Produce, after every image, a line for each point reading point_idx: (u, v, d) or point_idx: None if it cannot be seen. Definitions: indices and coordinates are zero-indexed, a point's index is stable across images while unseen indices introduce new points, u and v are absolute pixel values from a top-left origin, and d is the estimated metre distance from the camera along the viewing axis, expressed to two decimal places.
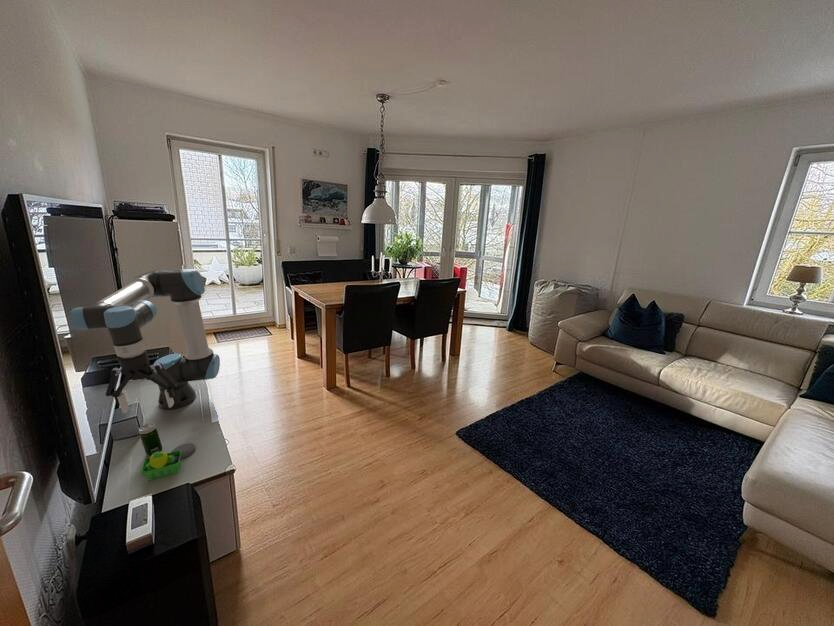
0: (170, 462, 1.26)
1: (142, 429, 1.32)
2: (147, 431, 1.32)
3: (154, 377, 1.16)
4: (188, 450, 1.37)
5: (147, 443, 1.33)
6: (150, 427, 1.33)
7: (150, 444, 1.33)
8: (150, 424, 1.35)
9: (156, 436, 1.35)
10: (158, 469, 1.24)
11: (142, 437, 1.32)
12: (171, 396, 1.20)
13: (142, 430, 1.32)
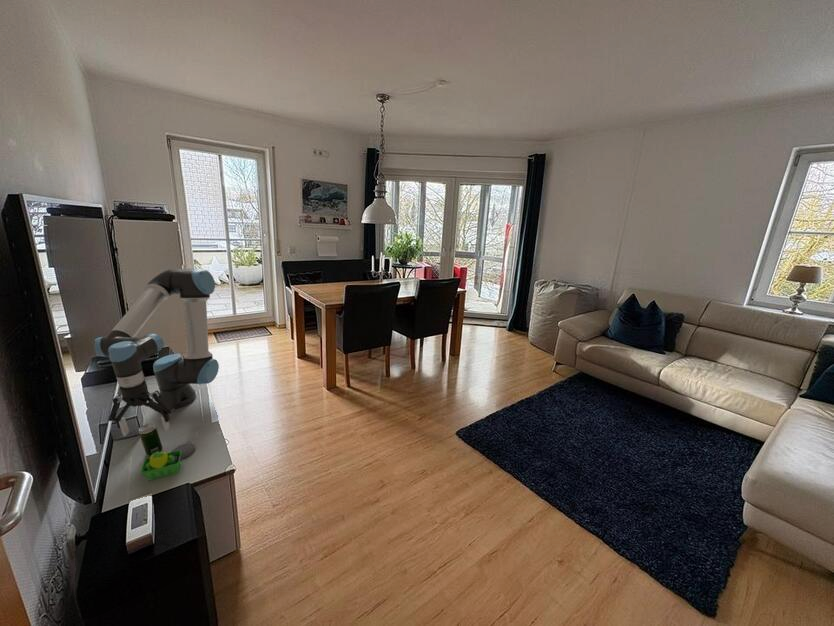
0: (170, 462, 1.26)
1: (142, 429, 1.32)
2: (147, 431, 1.32)
3: (152, 404, 1.30)
4: (188, 450, 1.37)
5: (147, 443, 1.33)
6: (150, 427, 1.33)
7: (150, 444, 1.33)
8: (150, 424, 1.35)
9: (156, 436, 1.35)
10: (158, 469, 1.24)
11: (142, 437, 1.32)
12: (167, 420, 1.33)
13: (142, 430, 1.32)
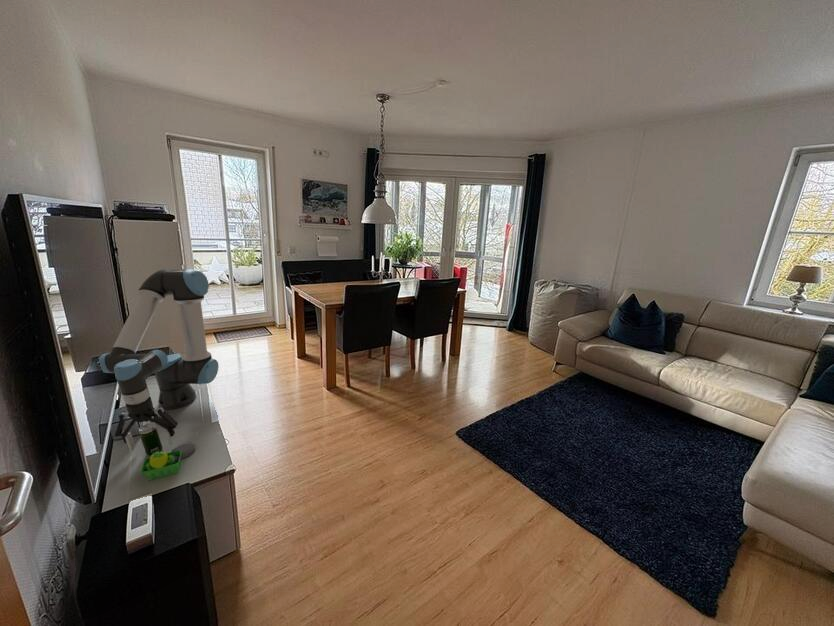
0: (170, 462, 1.26)
1: (142, 429, 1.32)
2: (147, 431, 1.32)
3: (157, 419, 1.33)
4: (188, 450, 1.37)
5: (147, 443, 1.33)
6: (150, 427, 1.33)
7: (150, 444, 1.33)
8: (150, 424, 1.35)
9: (156, 436, 1.35)
10: (158, 469, 1.24)
11: (142, 437, 1.32)
12: (172, 435, 1.36)
13: (142, 430, 1.32)
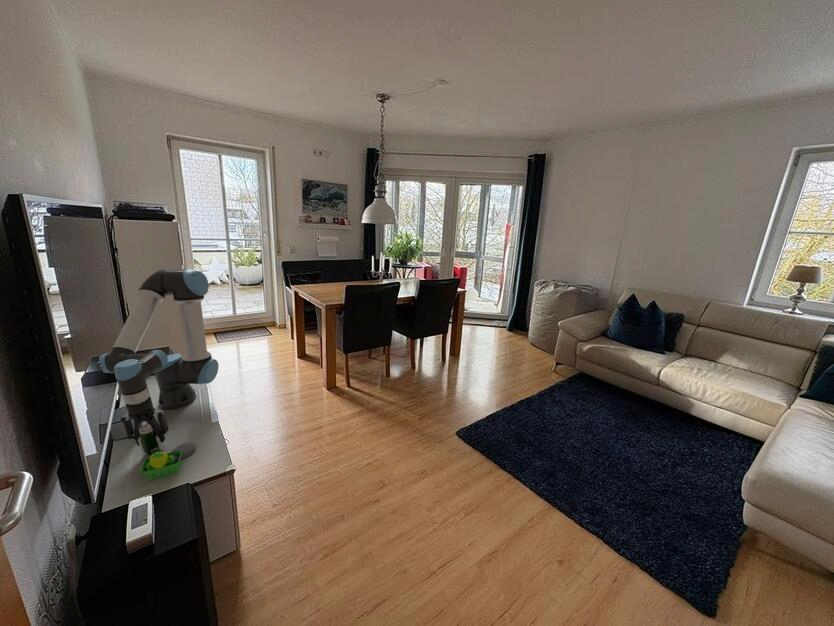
0: (170, 462, 1.26)
1: (142, 429, 1.32)
2: (147, 431, 1.32)
3: (153, 422, 1.33)
4: (188, 450, 1.37)
5: (147, 443, 1.33)
6: (150, 427, 1.33)
7: (150, 444, 1.33)
8: None
9: None
10: (158, 469, 1.24)
11: (142, 437, 1.32)
12: (162, 441, 1.36)
13: (142, 430, 1.32)
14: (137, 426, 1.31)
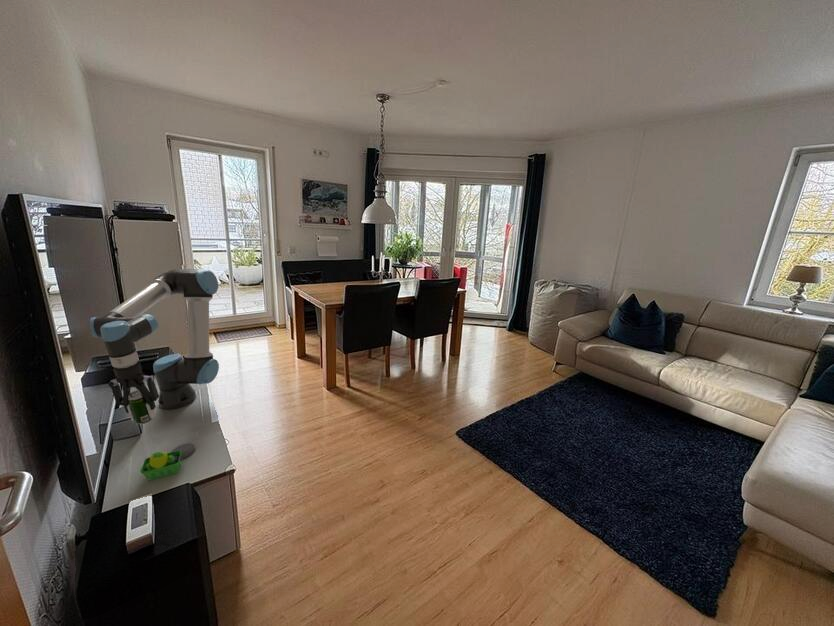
0: (170, 462, 1.26)
1: (131, 395, 1.27)
2: (136, 397, 1.26)
3: (142, 388, 1.27)
4: (188, 450, 1.37)
5: (137, 410, 1.28)
6: (139, 393, 1.28)
7: (140, 411, 1.28)
8: None
9: None
10: (158, 469, 1.24)
11: (131, 403, 1.27)
12: (152, 408, 1.31)
13: (131, 396, 1.26)
14: (126, 392, 1.26)
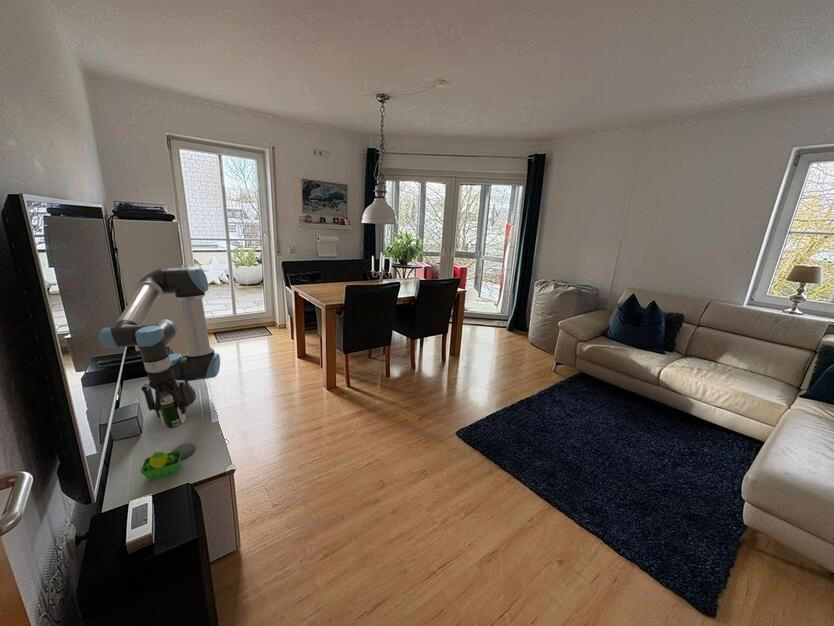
0: (170, 462, 1.26)
1: (163, 400, 1.27)
2: (168, 402, 1.27)
3: (174, 393, 1.28)
4: (188, 450, 1.37)
5: (168, 414, 1.28)
6: (171, 398, 1.29)
7: (171, 415, 1.29)
8: None
9: (177, 407, 1.30)
10: (158, 469, 1.24)
11: (163, 408, 1.27)
12: (183, 412, 1.31)
13: (163, 401, 1.27)
14: (158, 396, 1.26)
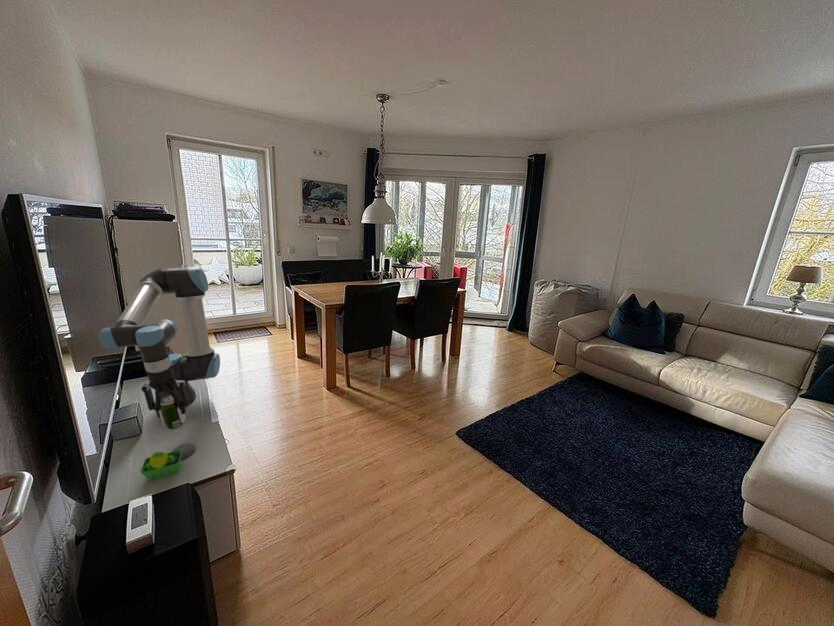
0: (170, 462, 1.26)
1: (163, 401, 1.28)
2: (169, 403, 1.27)
3: (174, 393, 1.28)
4: (188, 450, 1.37)
5: (169, 415, 1.28)
6: (171, 399, 1.29)
7: (172, 416, 1.29)
8: (171, 396, 1.30)
9: None
10: (158, 469, 1.24)
11: (163, 409, 1.27)
12: (183, 412, 1.31)
13: (163, 402, 1.27)
14: (158, 396, 1.26)
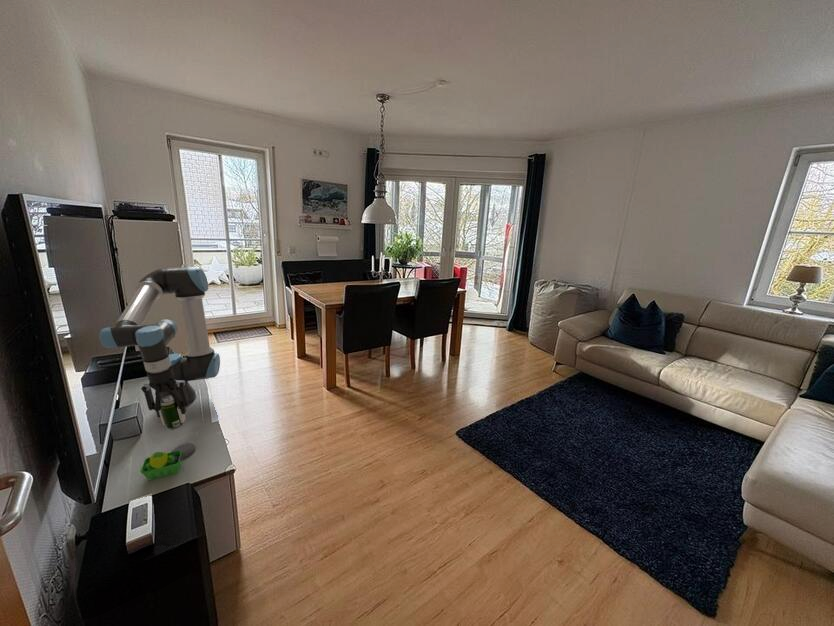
0: (170, 462, 1.26)
1: (163, 401, 1.28)
2: (169, 403, 1.27)
3: (174, 393, 1.28)
4: (188, 450, 1.37)
5: (169, 415, 1.28)
6: (171, 399, 1.29)
7: (172, 416, 1.29)
8: (171, 396, 1.30)
9: None
10: (158, 469, 1.24)
11: (163, 409, 1.27)
12: (183, 412, 1.31)
13: (163, 402, 1.27)
14: (158, 396, 1.26)
